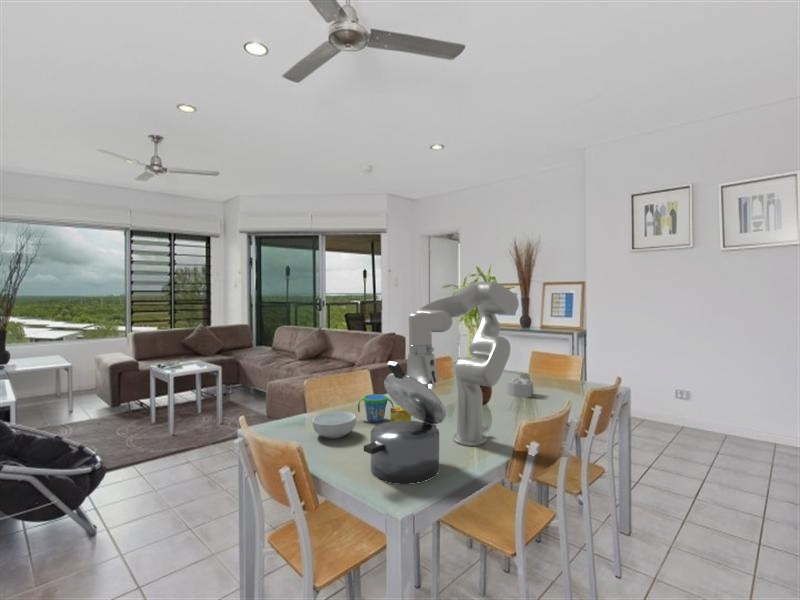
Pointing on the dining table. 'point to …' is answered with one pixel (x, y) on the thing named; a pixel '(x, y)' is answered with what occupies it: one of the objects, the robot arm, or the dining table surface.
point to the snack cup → (375, 406)
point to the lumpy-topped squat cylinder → (520, 387)
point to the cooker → (404, 451)
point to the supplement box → (399, 414)
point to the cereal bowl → (334, 424)
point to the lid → (413, 396)
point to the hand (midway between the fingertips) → (422, 403)
